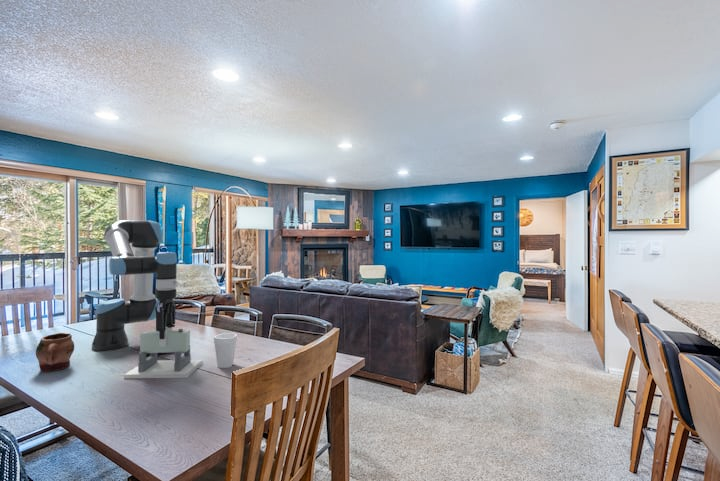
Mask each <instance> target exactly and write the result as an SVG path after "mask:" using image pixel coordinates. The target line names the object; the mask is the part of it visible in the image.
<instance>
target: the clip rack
mask: <svg viewBox="0 0 720 481" xmlns="http://www.w3.org/2000/svg"><path fill="white" fill-rule="evenodd" d="M182 354H183V356H182ZM138 356H139V357H138V363H137V364H138V365H137V366H135V367H133V369H131V370H129V371H127V372H126V373H124V374H123V378H124V379H173V378H174V379H175V378H176V379H178V378H179V379H180V378H181V379H185V378H186V379H187V378H188V377H189V376H190V375H191V374H192V373H194V372H195V371H196V370H197V369H198V368H199V367H200V366H201V365H202V364H203V360H202V359H191V357H192V355H191V348H190V349H189V350H188V351H187V352H174V359H171V360H168V359H167V360H166V359H165V360H164V359H163V360H158V355H157V353H150V356H149V357H146V352H140V351H139V353H138Z"/></svg>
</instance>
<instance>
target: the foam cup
mask: <svg viewBox="0 0 720 481" xmlns="http://www.w3.org/2000/svg"><path fill="white" fill-rule="evenodd" d="M237 336H238V334H236V333H232V332H225V333H219V334H216V335H214V337H213V343H214V350H215V357H216V364H217V368H220V369H228V368H230V367H232V365H233V366H234V359H235V353H236V345H237V342H238V340H237V339H238V337H237Z"/></svg>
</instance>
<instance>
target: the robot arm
mask: <svg viewBox="0 0 720 481" xmlns="http://www.w3.org/2000/svg"><path fill="white" fill-rule="evenodd" d="M103 234H104V235H103V238H104V241H105V243H106V244H107V245H108V246H109V249H110V252H111V255H112V257H110V259H109V264H108V267H109V268H108V269H109V274H110V275H111V276H127V275H128V276H129V275H133V293H132V295H131V296H130V297H129V300H125V298H114V299H108V300H105V301H101V302H100V303H98V304H97V306H96V324H95V325H96V328H95V329H96V333H95V335H94V338H93V341H92V343H91V350H93V351H98V352H99V351H101V352H102V351H112V350H116V349H117V350H118V349H121V348H124V347H126V346H128V345H129V338H128V336H127V332H126V330H125V325H127V324H133V323H134V324H135V323H143V322H145V323H147V322H149V321H153V320H155V331H159V347H166V346H167V331H173V328H175V327H176V325H175V324H176V307H177V301H174V299H175V298H177V289H176V288H177V284H178V281H177V271H178V270H177V269H178V266H177V265H178V264H177V262H178V259H177V258H178V257H177V253H176V252H174V251H173V252H172V251H165V252H164V251H160V252H156V255H155V250H156V249H158V247H159V245H160V244H161V243H162V241H163V235H162V234H163V233H162V228H161V225H160V223H159V222H157V221H155V220H154V221H153V220H133V219H132V220H131V219H129V220H128V219H122V220H118V221H116V222H113V223H111V224H110V225H108V227H107V228H106V229H105V231H104V233H103ZM132 248H133V249H134V250H135V251H134V253H133V250H132ZM154 274H156V275H155V289H156V290H155V294H154V292H153V291H154V290H153V286H154Z"/></svg>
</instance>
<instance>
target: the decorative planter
mask: <svg viewBox="0 0 720 481" xmlns="http://www.w3.org/2000/svg"><path fill="white" fill-rule="evenodd" d="M72 336H73V335H72V334H71V333H70V332H69V333H67V332H66V333H65V332H58V333H54V334H48V335H45V336H44V337H42V338H40V340H39V343H38V345H37V347H36V349H35V356H36V359H37V361H38V366H39V370H40V371H41V372H42V373H48V372H56V371H60V370H63V369H66V368H67V367H69V366H70V365H71V360H70V359H71V356H72V355H73V353H74V351H75V342H74V341H73V339H72V338H73V337H72Z"/></svg>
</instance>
